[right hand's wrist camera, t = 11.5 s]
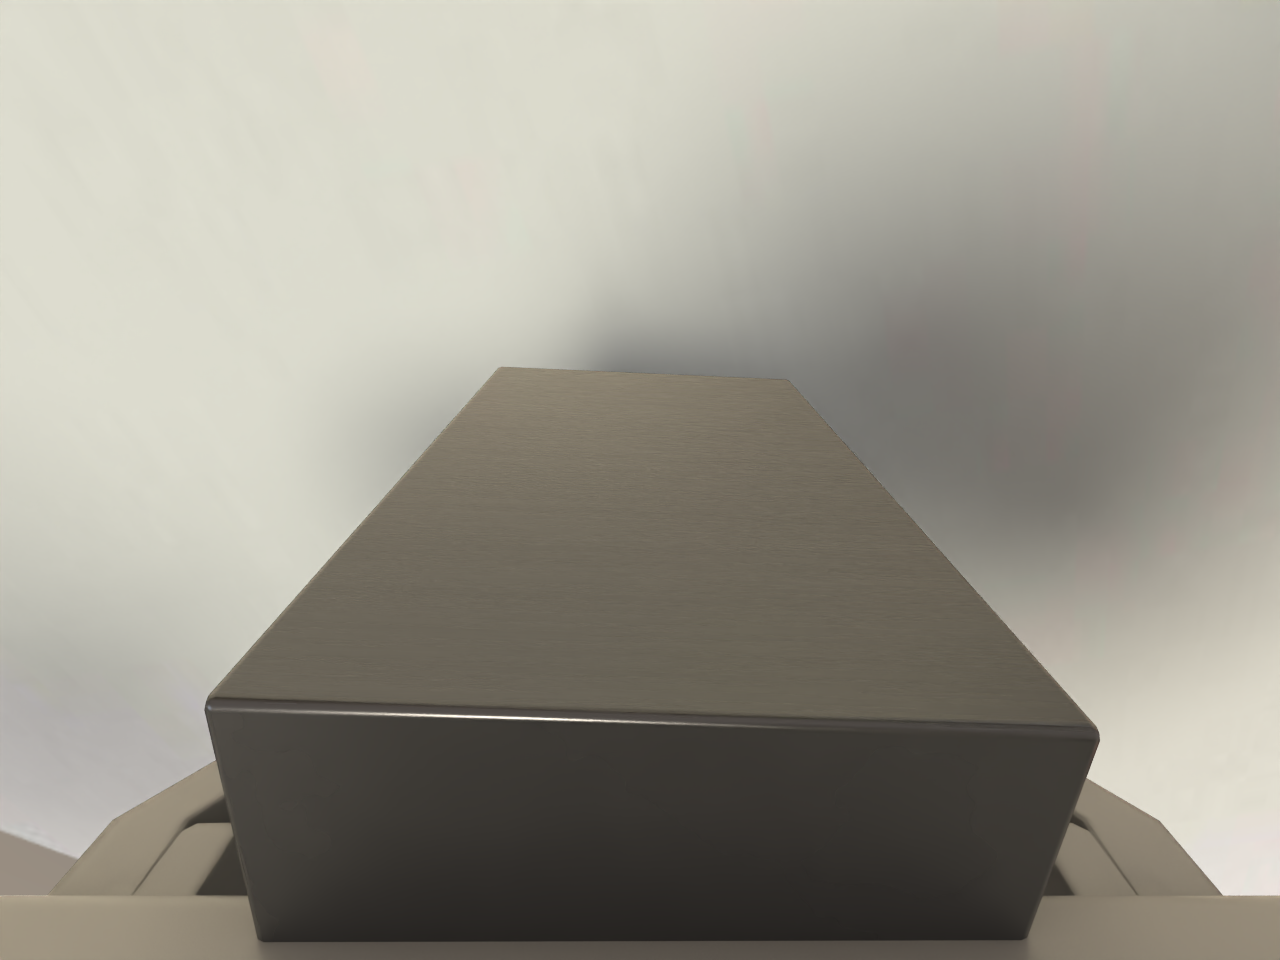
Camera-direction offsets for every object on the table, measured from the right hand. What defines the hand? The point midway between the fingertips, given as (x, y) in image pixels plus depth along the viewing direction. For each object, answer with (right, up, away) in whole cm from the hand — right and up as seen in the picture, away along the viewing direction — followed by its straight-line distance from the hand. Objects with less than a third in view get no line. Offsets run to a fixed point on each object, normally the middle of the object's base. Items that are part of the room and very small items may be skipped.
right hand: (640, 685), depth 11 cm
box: (0, -5, +7) cm, 8 cm away
